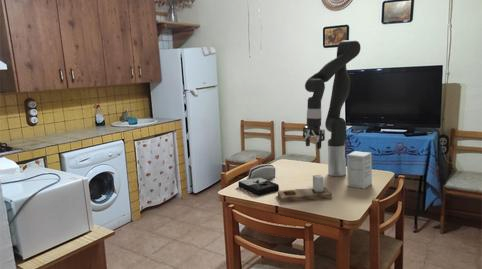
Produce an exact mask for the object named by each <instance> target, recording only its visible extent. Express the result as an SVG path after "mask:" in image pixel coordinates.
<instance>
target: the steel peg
mask: <svg viewBox="0 0 482 269" xmlns="http://www.w3.org/2000/svg"><path fill="white" fill-rule="evenodd" d="M324 187H325V186H324V176H323V175H322V174H315V175H312V188H313V193H314V194H315V193H324Z"/></svg>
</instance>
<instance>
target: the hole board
mask: <svg viewBox="0 0 482 269" xmlns="http://www.w3.org/2000/svg"><path fill="white" fill-rule="evenodd" d="M277 197H278V199H279V202H280V203H281V204H285V203H298V202H299V203H300V202H309V201H323V200H332V199H333V193H332V192H331V191H330V190H329V189H328V188H327V187H326V186H324V193H315V194H314V193H313V187H311V188H309V187H308V188H299V189H297V188H296V189H287V190H286V189H285V190H279V191H277Z"/></svg>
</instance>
